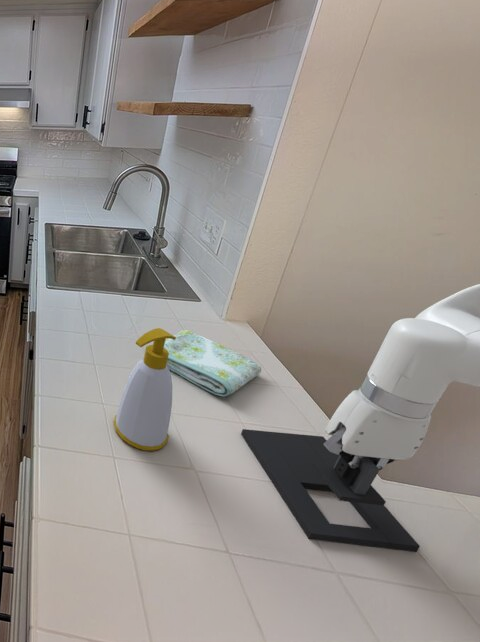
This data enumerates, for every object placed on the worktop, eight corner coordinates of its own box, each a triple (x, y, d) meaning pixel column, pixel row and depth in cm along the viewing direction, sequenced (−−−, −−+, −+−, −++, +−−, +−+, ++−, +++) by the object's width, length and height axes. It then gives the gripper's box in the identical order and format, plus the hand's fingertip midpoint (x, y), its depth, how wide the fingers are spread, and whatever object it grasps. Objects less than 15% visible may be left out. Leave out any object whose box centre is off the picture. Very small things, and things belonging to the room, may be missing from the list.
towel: (182, 338, 118) (186, 324, 116) (260, 376, 102) (266, 361, 100) (146, 358, 109) (149, 343, 107) (225, 404, 93) (231, 387, 91)
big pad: (320, 441, 83) (323, 436, 82) (416, 552, 63) (420, 546, 62) (240, 434, 85) (242, 429, 84) (308, 539, 65) (311, 533, 64)
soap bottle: (101, 421, 88) (117, 324, 78) (138, 406, 92) (158, 312, 82) (139, 460, 79) (163, 355, 69) (179, 441, 83) (207, 340, 73)
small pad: (352, 470, 69) (368, 441, 66) (383, 505, 63) (402, 476, 60) (312, 465, 70) (326, 437, 67) (339, 500, 64) (356, 471, 61)
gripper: (430, 383, 61) (381, 465, 68) (322, 374, 63) (286, 455, 70) (481, 419, 54) (421, 506, 62) (358, 408, 56) (314, 493, 64)
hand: (349, 478), depth 66 cm, fingers closed on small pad, 1 cm apart
